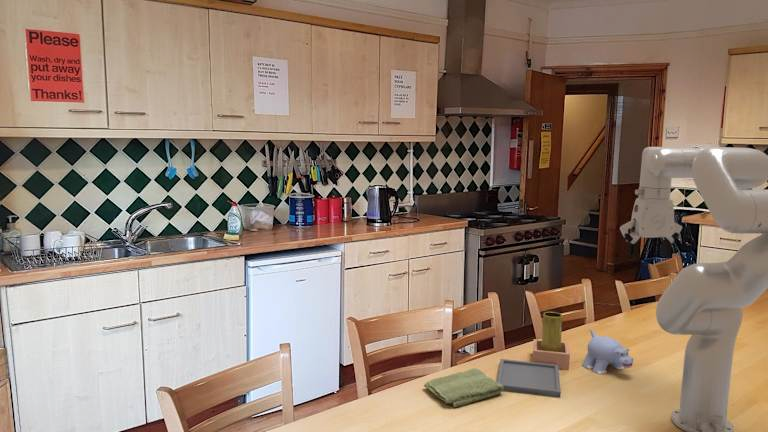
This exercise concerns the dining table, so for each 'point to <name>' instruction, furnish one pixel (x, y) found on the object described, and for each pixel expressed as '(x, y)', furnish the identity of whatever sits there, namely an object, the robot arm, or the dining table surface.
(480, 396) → the washcloth
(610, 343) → the hippopotamus toy
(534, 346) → the pink square frame
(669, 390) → the dining table surface
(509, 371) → the tray
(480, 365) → the dining table surface
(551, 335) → the vase
